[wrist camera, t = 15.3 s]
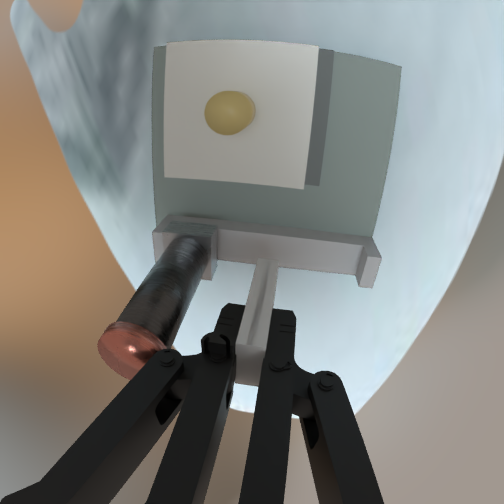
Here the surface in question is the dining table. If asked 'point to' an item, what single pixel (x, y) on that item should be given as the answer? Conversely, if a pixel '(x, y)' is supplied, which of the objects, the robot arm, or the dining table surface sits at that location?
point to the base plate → (316, 179)
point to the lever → (161, 298)
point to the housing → (239, 110)
